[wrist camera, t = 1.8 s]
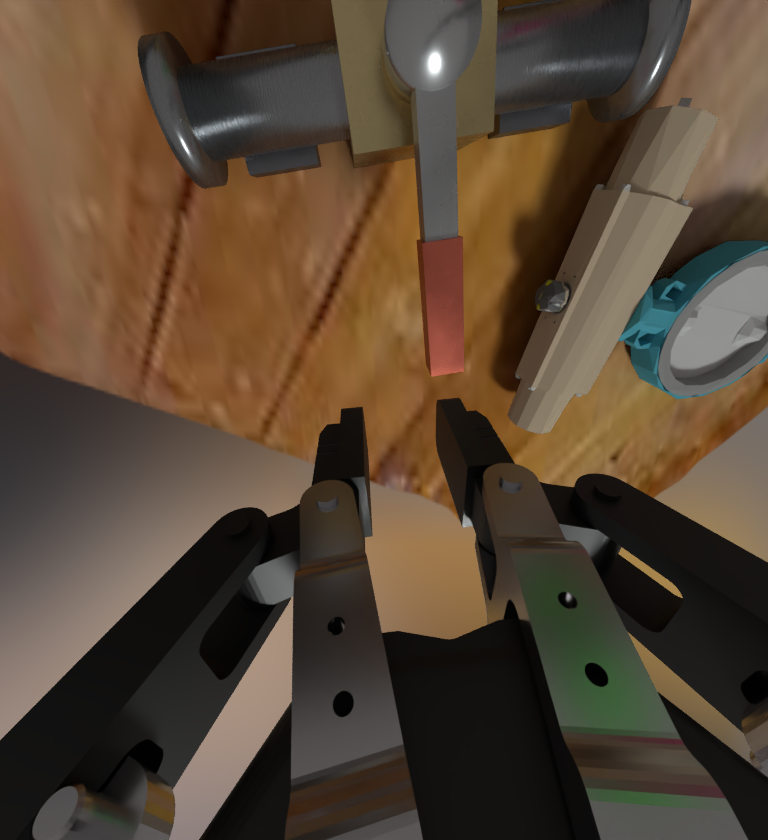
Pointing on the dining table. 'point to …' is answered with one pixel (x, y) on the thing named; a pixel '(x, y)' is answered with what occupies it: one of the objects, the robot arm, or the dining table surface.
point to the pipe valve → (385, 104)
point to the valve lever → (435, 154)
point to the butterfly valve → (645, 285)
